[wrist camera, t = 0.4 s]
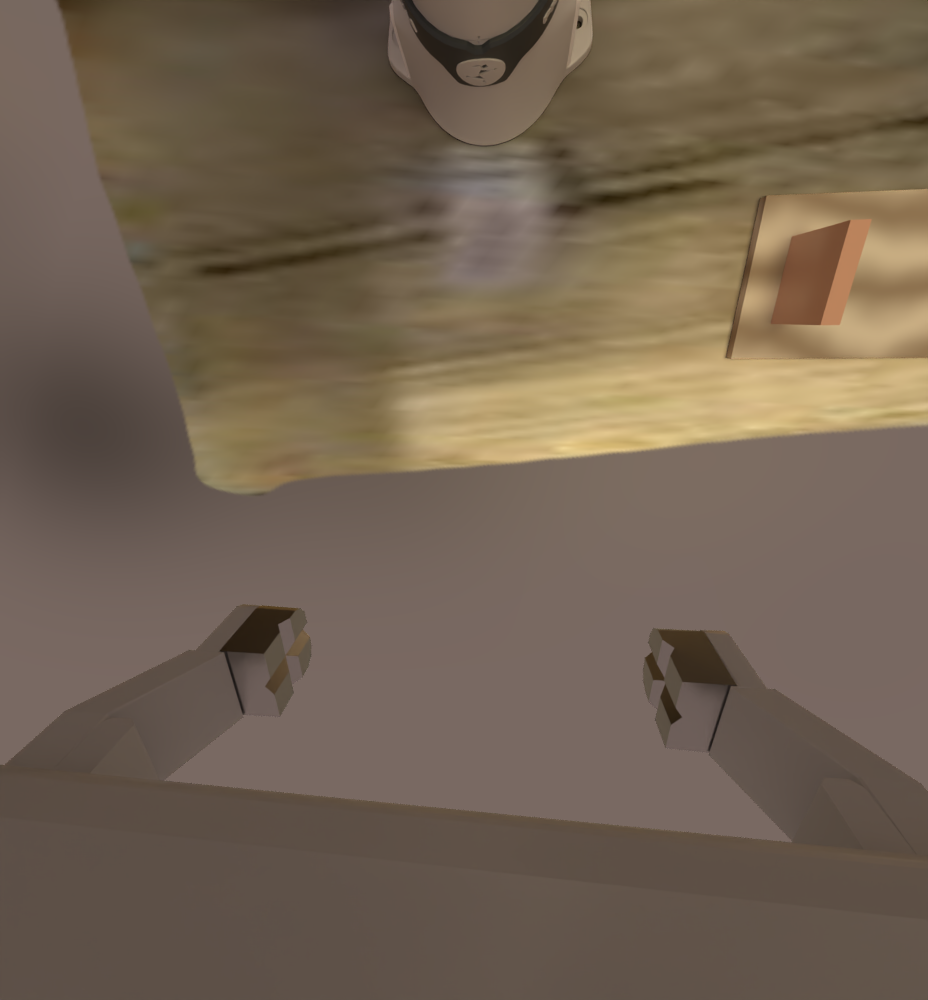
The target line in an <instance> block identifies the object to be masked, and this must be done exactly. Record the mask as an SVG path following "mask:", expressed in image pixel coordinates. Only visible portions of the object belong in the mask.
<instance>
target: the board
mask: <svg viewBox="0 0 928 1000" xmlns="http://www.w3.org/2000/svg"><path fill="white" fill-rule="evenodd" d="M860 219H872V221H871V224H870V227H869V231H868V234H867V237H866V240H865V244H864V247H863V250H862V254H861V257H860V260H859V263H858V267H857V270H856V273H855V277H854V280H853V283H852V286H851V290H850V293H849V296H848V300H847V303H846V306H845V309H844V313H843V316H842V319H841V323H840V325H790V324H771V320H772V316H773V312H774V308H775V303H776V299H777V295H778V291H779V287H780V283H781V279H782V275H783V271H784V267H785V263H786V259H787V255H788V250H789V246H790V242H791V238H792V236H796V235H799V234H803V233H806V232H810V231H813V230H817V229H820V228H824V227H827V226H831V225H834V224H838V223H841V222H845V221H848V220H860ZM922 357H928V189H917V190H892V191H868V192H843V193H819V194H795V195H770V196H765V197H763V198H761V199H760V202H759V206H758V211H757V216H756V220H755V225H754V230H753V235H752V239H751V244H750V249H749V253H748V258H747V263H746V267H745V272H744V277H743V281H742V286H741V291H740V295H739V300H738V305H737V309H736V314H735V319H734V323H733V328H732V333H731V337H730V342H729V347H728V351H727V356H726V358H730V359H769V358H922Z"/></svg>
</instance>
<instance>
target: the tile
mask: <svg viewBox="0 0 928 1000" xmlns="http://www.w3.org/2000/svg"><path fill="white" fill-rule="evenodd" d="M871 221H872V219H860V220H848V221H845V222H841V223H838V224H834V225H831V226H827V227H824V228H820V229H817V230H813V231H810V232H806V233H803V234H799V235H796V236H792V238H791V242H790V246H789V250H788V255H787V259H786V263H785V267H784V271H783V275H782V279H781V283H780V287H779V291H778V295H777V299H776V303H775V308H774V312H773V316H772V320H771V324H790V325H840V323H841V319H842V316H843V313H844V309H845V306H846V303H847V300H848V296H849V293H850V290H851V286H852V283H853V280H854V277H855V273H856V270H857V267H858V263H859V260H860V257H861V254H862V250H863V247H864V244H865V240H866V237H867V234H868V231H869V227H870V224H871Z"/></svg>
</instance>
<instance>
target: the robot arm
mask: <svg viewBox="0 0 928 1000" xmlns="http://www.w3.org/2000/svg"><path fill="white" fill-rule="evenodd" d="M389 11H390V25H389V38H388V58H389V62H390V65H391V67H392V69H393V70H394V72H395V73H396V74H397V75H398V76H399V77H401V78H402V79H403V80H404V81H406V82H407V83H408V84H410V85H411V86H412V87H414V88H415V90H416V91H417V92H418V94H419V96H420V97H421V99H422V101H423V103H424V104H425V106H426V108H427V110H428V111H429V113H430V114H431V116H432V117H433V118H434V120H435V121H436V122H437V123H438V124H439V125H440V126H441V127H442V128H443V129H444V130H445V131H446V132H448V133H449V134H450V135H452V136H453V137H455V138H457V139H459V140H461V141H464V142H466V143H470V144H474V145H495V144H499V143H503V142H506V141H508V140H511V139H513V138H515V137H516V136H518V135H520V134H521V133H523V132H524V131H525V130H527V129H528V128H529V127H530V126H531V125H532V124H533V123H534V122H535V121H536V120H537V119H538V118H539V117H540V115H541V114H542V113H543V112H544V110H545V109H546V107H547V106H548V104H549V103H550V101H551V99H552V97H553V95H554V94H555V92H556V90H557V88H558V86H559V85H560V83H561V82H562V80H563V79H564V78H565V77H566V76H567V75H568V74H569V73H571V72H572V71H573V70H574V69H575V68H576V67H577V66H578V65H580V64H581V63H582V62H583V60H584V59H585V58H586V57H587V55H588V54H589V52H590V50H591V46H592V39H593V29H592V16H591V2H590V0H392V1H391V3H390V5H389ZM577 21H580V22H581V24H582V26H581V27H580V28H579V29H576V27H577ZM306 623H307V620H306V616H305V612H304V611H303V610H302V609H300V608H288V607H275V606H263V605H262V606H258V605H245V604H243V605H240V606H237V607H236V608H235V609H234V610H233V611H232V612H231V613H230V614H229V615H228V616H227V617H226V618H225V620H224V621H223V622H222V623H221V624H220V625H219V626H218V627H217V628H216V629H215V630H214V631H213V632H212V633H211V635H210V636H209V637H208V638H207V639H206V640H205V641H204V642H203V643H202V644H201V645H200V646H199V647H198V648H197V649H196V650H188V651H186V652H184V653H182V654H180V655H178V656H176V657H174V658H172V659H170V660H168V661H166V662H164V663H162V664H160V665H158V666H156V667H154V668H152V669H149V670H147V671H145V672H143V673H141V674H139V675H137V676H136V677H133V678H132V679H129V680H127V681H125V682H123V683H121V684H119V685H117V686H115V687H113V688H111V689H109V690H107V691H105V692H103V693H101V694H99V695H97V696H95V697H93V698H90V699H88V700H86V701H84V702H83V703H80V704H78V705H76V706H74V707H72V708H70V709H68V710H66V711H64V712H63V713H62V714H61V715H60V716H59V717H58V718H57V719H55V720H54V721H53V722H52V723H51V724H50V725H49V726H48V727H46V728H45V729H44V730H43V731H42V732H41V733H40V734H39V735H38V736H36V737H35V738H34V739H33V740H32V741H31V742H30V743H29V744H27V745H26V746H25V747H24V748H23V749H22V750H21V751H20V752H18V753H17V754H16V755H15V756H14V757H13V758H12V759H11V760H9V761H8V762H7V763H6V764H5V765H0V1000H928V791H927V790H926V789H925V788H924V786H923V785H922V784H921V783H919V782H918V781H916V780H915V779H913V778H911V777H910V776H908V775H907V774H905V773H904V772H902V771H901V770H899V769H898V768H896V767H894V766H892V765H891V764H890V763H888V762H887V761H885V760H884V759H882V758H880V757H879V756H877V755H876V754H874V753H873V752H871V751H869V750H868V749H867V748H865V747H863V746H862V745H860V744H859V743H857V742H856V741H854V740H853V739H851V738H850V737H848V736H846V735H845V734H843V733H842V732H840V731H839V730H837V729H836V728H834V727H833V726H831V725H830V724H828V723H826V722H825V721H823V720H822V719H820V718H819V717H817V716H816V715H814V714H812V713H811V712H809V711H808V710H806V709H805V708H803V707H802V706H800V705H799V704H797V703H795V702H794V701H792V700H791V699H789V698H788V697H786V696H785V695H783V694H782V693H780V692H778V691H777V690H775V689H767V688H766V686H765V685H764V684H763V682H762V680H761V679H760V678H759V676H758V675H757V673H756V672H755V670H754V669H753V668H752V666H751V665H750V663H749V662H748V660H747V659H746V657H745V656H744V655H743V653H742V652H741V650H740V649H739V647H738V646H737V645H736V643H735V642H734V640H733V639H732V637H731V636H730V635H729V634H728V633H727V632H725V631H712V630H700V631H696V630H676V629H675V630H674V629H655V628H653V629H652V631H651V633H650V636H649V641H648V643H649V646H650V648H651V651H652V653H650V654H649V655H648V656H647V657H646V658H645V661H644V667H643V683H644V687H645V692H646V695H647V698H648V701H649V703H650V704H652V705H653V706H654V707H655V708H656V709H657V713H656V718H655V721H656V724H657V726H658V729H659V732H660V734H661V737H662V740H663V743H664V745H665V748H670V749H679V750H689V751H697V752H707V753H709V756H710V757H711V758H712V759H713V760H714V761H715V762H716V763H717V764H718V765H719V766H720V767H721V768H722V769H723V770H724V771H725V772H726V773H727V774H728V775H729V776H730V777H731V778H732V779H733V780H734V781H735V783H736V784H738V785H739V787H740V788H741V789H742V790H743V791H744V792H745V793H746V794H747V795H748V796H749V797H750V798H751V799H752V800H753V801H754V802H755V803H756V804H757V805H758V806H759V807H760V808H761V809H762V810H763V812H765V814H766V815H767V816H768V817H769V818H770V819H771V820H772V821H773V822H774V823H775V824H776V825H777V826H778V827H779V828H780V829H781V830H782V831H783V832H784V833H785V834H786V835H787V836H788V837H789V838H790V839H791V841H792V842H782V841H771V840H761V839H752V838H741V837H731V836H721V835H711V834H701V833H691V832H681V831H671V830H660V829H650V828H640V827H630V826H619V825H609V824H599V823H588V822H579V821H568V820H558V819H547V818H537V817H526V816H517V815H507V814H497V813H486V812H476V811H466V810H456V809H446V808H436V807H426V806H416V805H405V804H395V803H385V802H375V801H365V800H355V799H345V798H335V797H325V796H324V797H323V796H314V795H304V794H294V793H284V792H273V791H263V790H253V789H243V788H233V787H222V786H212V785H202V784H192V783H182V782H172V781H164V780H165V779H166V778H167V777H169V776H170V775H171V774H172V773H174V772H175V771H176V770H177V769H178V768H180V767H181V766H182V765H183V764H185V763H186V762H188V761H189V760H190V759H191V758H193V757H194V756H195V755H196V754H197V753H199V752H200V751H201V750H203V749H204V748H205V747H206V746H208V745H209V744H210V743H211V742H213V741H214V740H215V739H216V738H218V737H219V736H220V735H221V734H223V733H224V732H225V731H226V730H228V729H229V728H230V727H232V726H233V725H234V724H235V723H237V722H238V721H239V720H240V719H242V718H243V715H254V716H275V717H280V716H281V714H282V712H283V711H284V709H285V707H286V705H287V704H288V702H289V700H290V698H291V697H292V695H293V693H294V691H293V687H292V684H293V683H295V682H296V681H298V680H299V679H301V678H302V677H303V675H304V673H305V672H306V670H307V668H308V665H309V661H310V657H311V640H310V637H309V636H308V635H307V634H306V632H304V630H303V628H304V626H305V625H306Z"/></svg>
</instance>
